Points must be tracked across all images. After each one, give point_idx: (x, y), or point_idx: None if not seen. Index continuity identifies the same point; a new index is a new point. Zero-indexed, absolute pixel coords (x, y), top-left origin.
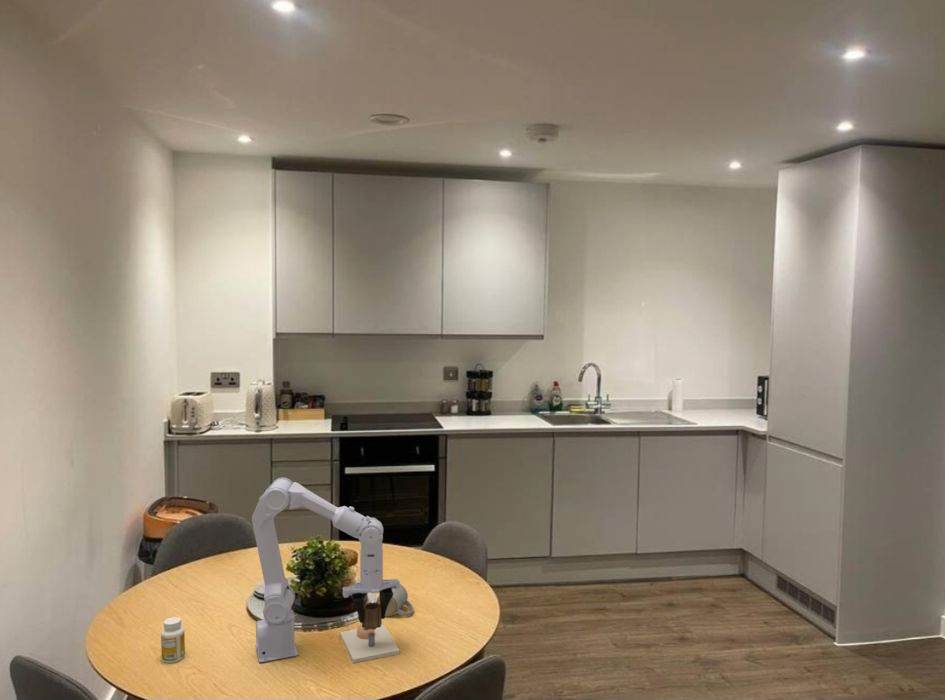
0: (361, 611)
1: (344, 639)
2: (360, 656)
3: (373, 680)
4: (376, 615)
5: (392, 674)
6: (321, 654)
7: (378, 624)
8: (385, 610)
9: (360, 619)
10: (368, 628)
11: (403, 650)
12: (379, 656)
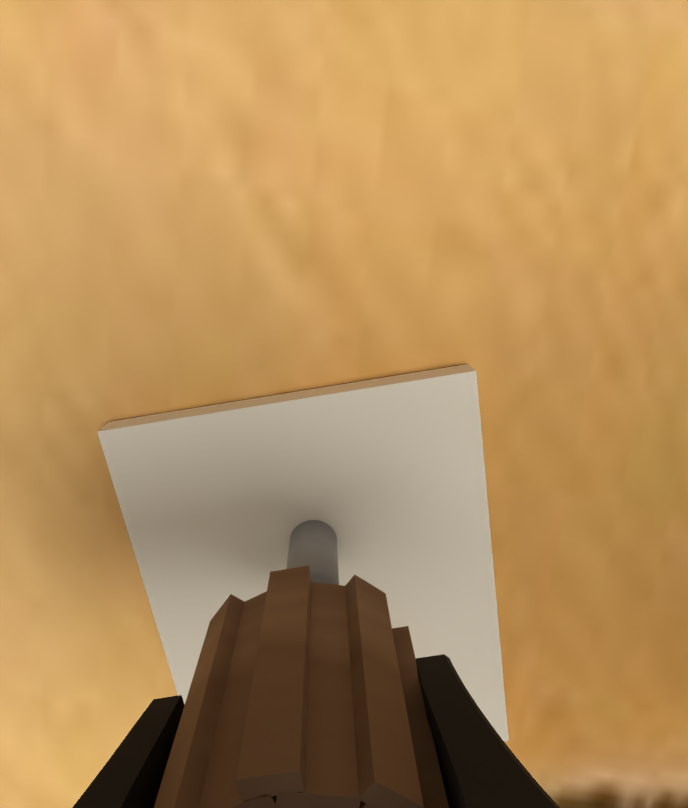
0: (487, 783)
1: (495, 649)
2: (415, 400)
3: (345, 59)
4: (241, 712)
5: (180, 119)
6: (658, 526)
7: (234, 622)
8: (91, 794)
9: (462, 684)
10: (352, 585)
11: (79, 464)
12: (266, 398)
